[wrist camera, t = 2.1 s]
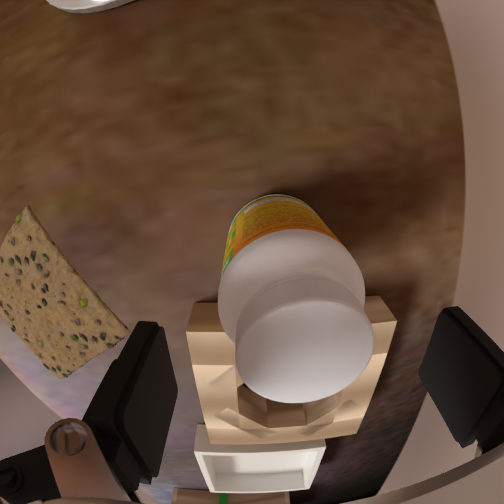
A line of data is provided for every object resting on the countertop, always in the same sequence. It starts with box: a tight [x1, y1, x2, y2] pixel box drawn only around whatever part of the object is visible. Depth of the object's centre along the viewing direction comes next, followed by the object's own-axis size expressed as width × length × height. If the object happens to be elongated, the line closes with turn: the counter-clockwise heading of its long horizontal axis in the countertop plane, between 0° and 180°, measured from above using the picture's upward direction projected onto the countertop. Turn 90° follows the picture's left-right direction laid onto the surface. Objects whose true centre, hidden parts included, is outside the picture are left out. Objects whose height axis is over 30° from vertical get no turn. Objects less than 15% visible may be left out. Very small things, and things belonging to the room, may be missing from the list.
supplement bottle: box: [218, 194, 375, 403], centre depth 12 cm, size 5×5×10 cm
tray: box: [194, 424, 326, 493], centre depth 24 cm, size 11×11×3 cm
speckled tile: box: [0, 206, 130, 379], centre depth 18 cm, size 12×12×1 cm
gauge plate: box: [186, 295, 397, 444], centre depth 19 cm, size 12×12×3 cm
